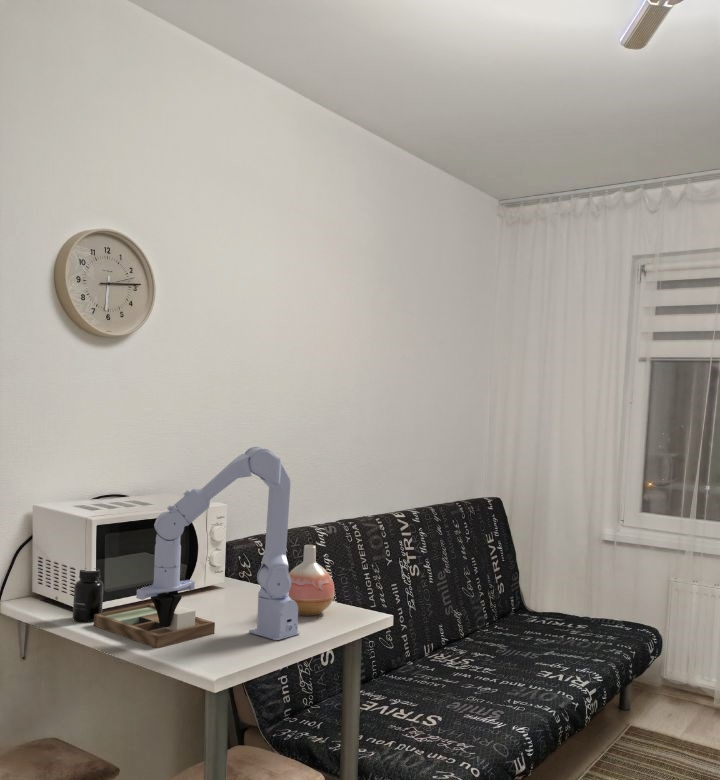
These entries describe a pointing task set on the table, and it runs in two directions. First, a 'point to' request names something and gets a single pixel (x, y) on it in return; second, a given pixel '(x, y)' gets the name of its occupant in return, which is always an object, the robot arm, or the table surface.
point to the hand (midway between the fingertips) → (164, 626)
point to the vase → (311, 585)
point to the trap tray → (149, 626)
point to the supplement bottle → (87, 596)
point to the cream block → (182, 619)
